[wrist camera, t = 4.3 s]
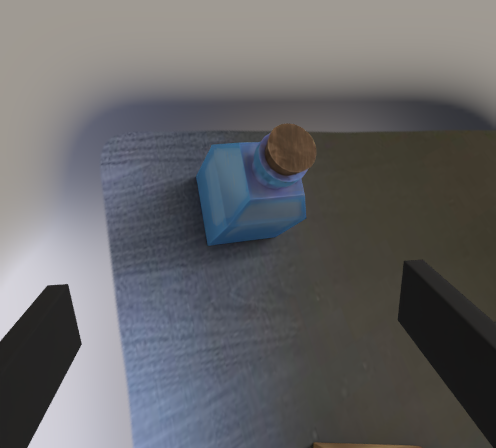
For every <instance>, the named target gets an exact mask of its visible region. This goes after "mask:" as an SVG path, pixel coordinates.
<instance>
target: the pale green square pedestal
mask: <svg viewBox="0 0 496 448" xmlns="http://www.w3.org/2000/svg"><path fill="white" fill-rule="evenodd" d="M313 448H422V447H419V446H407V445H376V444H346V443H315V442H314V443H313Z"/></svg>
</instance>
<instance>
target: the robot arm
mask: <svg viewBox="0 0 496 448" xmlns="http://www.w3.org/2000/svg"><path fill="white" fill-rule="evenodd" d="M398 321H399V322H400V324H401V325H402V326H403V328H404V329H405V330H406V332H407V333H408V334H409V336H410V337H411V338H412V340H413V341H414V342H415V344H416V345H417V346H418V348H419V349H420V350H421V352H422V353H423V354H424V356H425V357H426V358H427V360H428V361H429V362H430V364H431V365H432V366H433V368H434V369H435V370H436V372H437V373H438V374H439V376H440V377H441V378H442V380H443V381H444V382H445V384H446V385H447V386H448V388H449V389H450V390H451V392H452V393H453V394H454V396H455V397H456V398H457V400H458V401H459V402H460V404H461V405H462V406H463V408H464V409H465V410H466V412H467V413H468V414H469V416H470V417H471V418H472V420H473V421H474V422H475V424H476V425H477V426H478V428H479V429H480V430H481V432H482V433H483V434H484V436H485V437H486V438H487V440H488V441H489V442H490V444H491V445H492V446H493V448H496V322H494V321H492V320H491V319H490V318H489V317H488V316H487V315H486V314H484V313H483V312H482V311H481V310H480V309H479V308H478V307H476V306H475V305H474V304H473V303H472V302H471V301H469V300H468V299H467V298H466V297H465V296H464V295H463V294H461V293H460V292H459V291H458V290H457V289H456V288H455V287H453V286H452V285H451V284H450V283H449V282H448V281H447V280H445V279H444V278H443V277H442V276H441V275H440V274H439V273H437V272H436V271H435V270H434V269H433V268H432V267H431V266H429V265H428V264H427V263H426V262H425V261H424V260H411V261H404V266H403V275H402V284H401V294H400V303H399V313H398ZM81 345H82V344H81V339H80V335H79V330H78V326H77V322H76V317H75V313H74V309H73V305H72V300H71V295H70V291H69V286H68V284H65V285H49V286H47V287H46V288H45V289H44V290H43V292H42V293H41V294H40V295H39V296H38V297H37V299H36V300H35V301H34V302H33V303H32V305H31V306H30V307H29V308H28V309H27V310H26V312H25V313H24V314H23V315H22V316H21V318H20V319H19V320H18V321H17V322H16V323H15V325H14V326H13V327H12V328H11V329H10V331H9V332H8V333H7V334H6V335H5V336H4V338H3V339H2V340H1V341H0V448H27V447H28V445H29V443H30V441H31V440H32V437H33V436H34V434H35V432H36V430H37V428H38V426H39V424H40V422H41V421H42V419H43V417H44V415H45V413H46V411H47V409H48V407H49V405H50V403H51V402H52V400H53V398H54V396H55V394H56V392H57V390H58V388H59V386H60V384H61V383H62V380H63V379H64V377H65V375H66V373H67V371H68V369H69V367H70V365H71V364H72V362H73V360H74V358H75V356H76V354H77V352H78V350H79V348H80V346H81Z"/></svg>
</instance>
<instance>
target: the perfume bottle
mask: <svg viewBox="0 0 496 448" xmlns="http://www.w3.org/2000/svg"><path fill="white" fill-rule="evenodd" d="M315 158H316V146H315V143H314V141H313V139H312V137H311V136H310V135H309V133H308V132H306V131H305V130H304V129H303V128H301V127H299V126H297V125H294V124H281V125H279V126H277V127H275V128H274V129H273V130H272V132H271V133H270V134H268V135H266V136H265V137H264V138H263V140H262V141H261V142H251V143H231V144H216V145H212V146H211V148H210V150H209V152H208V154H207V156H206V158H205V160H204V162H203V164H202V166H201V168H200V170H199V172H198V174H197V176H196V179H197V185H198V191H199V197H200V203H201V209H202V215H203V221H204V226H205V232H206V238H207V244H208V246H210V245H218V244H226V243H234V242H241V241H249V240H257V239H265V238H273V237H276V236H278V235H280V234H281V233H283V232H285V231H286V230H288V229H289V228H291V227H293V226H294V225H296V224H298V223H299V222H301V221H303V220H304V219H306V208H305V194H304V190H303V185H302V181H301V178H302V177H303V176H304V175H305V173H306V172H307V170H308V168H310V167H311V166H312V164H313V163H314V161H315Z"/></svg>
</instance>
